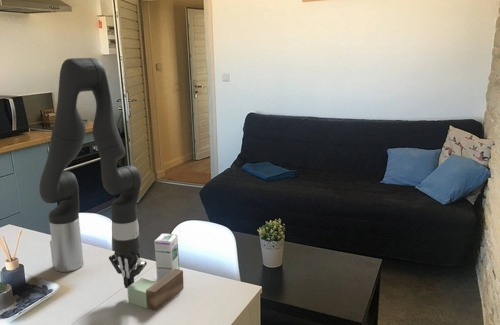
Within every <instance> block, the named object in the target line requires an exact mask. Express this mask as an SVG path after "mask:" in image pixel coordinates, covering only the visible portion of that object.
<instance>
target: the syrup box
mask: <svg viewBox="0 0 500 325" xmlns="http://www.w3.org/2000/svg"><path fill="white" fill-rule="evenodd" d="M178 241H179V240H178V234H174V233H160V235H159V236H158V237H157V238H156V239H155V240H154V241H153V242H154V253H155V255H154V256H155V268H156V269H155V270H156V282H157V281H159V280H160V279H161V278H163V277H164V276H166V275H167V274H168V273H170V272H171V271H172V270H174V269H179V270H181V268H180V255H179V242H178Z"/></svg>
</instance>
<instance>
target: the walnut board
mask: <svg viewBox="0 0 500 325" xmlns="http://www.w3.org/2000/svg"><path fill="white" fill-rule="evenodd" d="M179 269H180V268H179ZM179 269H174V270H172V271H171V272H170V273H168V274H167V275H166V276H164V277H163V278H161V279H160V280H159V281H157V280H156V281H155V282H156V283H155V284H153V285H152V286H151V287H149V288H148V289H147V290H146V296H147V308H146V309H147V310H151V311H153V312H156V311H158V310H159V309H160V308H162V307H163V306H164V305H165V304H166V303H168V301H170V300H171V299H172V298H173V297H175V296H176V295H177V294H178V293H180V291H182V290H183V289H184V288H185V286H184V270H183V269H180V270H179Z"/></svg>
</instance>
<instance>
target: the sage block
mask: <svg viewBox="0 0 500 325" xmlns="http://www.w3.org/2000/svg"><path fill="white" fill-rule="evenodd" d="M156 282H157V281H153V280H150V279H147V278H143V277H140V278H139V279H137V280H136V281H134V283H133V284H131V285H130V286H128V287H127V288H128V289H127V288H126V289H127V297H128V298H127V300H128V303H130V304H133V305H136V306H138V307H139V306H140V307H142V308H144V309H145V308H146V309H147V296H146V290H147V289H148V288H149V287H151V286H152V285H153V284H155V283H156Z"/></svg>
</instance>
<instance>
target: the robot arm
mask: <svg viewBox="0 0 500 325" xmlns="http://www.w3.org/2000/svg"><path fill="white" fill-rule="evenodd" d="M59 71H60V72H59V77H58V79H59V80H58V92H57V104H56V108H55V109H56V110H55V116H54V121H53V126H52V128H51V129H52V130H51V135H50V141H49V142H50V143H49V149H48V152H47V158H46V160H45V165H44V167H43V171H42V173H41V177H40V181H39V187H38V188H39V195H40V199H41V200H42V201H43V202H45V203H47V204H56V203H59V204H58V205H57V206H56V207H55V208H54V209H52V210H50V212H49V214H48V222H49V231H50V238H51V240H50V241H49V244H50V245H49V246H50V253H51V261H52V262H51V263H52V267H53V268H54V269H55V270H56V272H61V273H67V272H73V271H76V270H78V269H81V267H83V266H84V255H83V245H82V243H83V242H82V236H81V235H82V234H81V223H80V216H79V215H80V214H79V213H80V195H79V194H80V193H79V192H80V190H79V189H80V188H79V183H78V180H77V177H76V175H75V174H74V173H73V172H71V171H65V170H66V168H67V167H68V165H70V164H71V163H72V161H73V160H74V159H75V158H76V157H77V156H78V155H79V153H80V152H81V150H82V148H83V145H84V140H85V137H86V133H87V132H86V131H87V129H86V128H87V127H86V124H85V122H84V119H83V118H82V116H81V114H80V113H79V111H78V106H77V103H78V97H79V94H80V93H81V92H92V94H93V96H94V100H95V104H96V106H95V108H96V109H95V115H94V121H93V125H92V136H93V140H94V143H95V146H96V149H97V151H98V155H99V159H100V171H101V172H100V173H101V183H102V186H103V189H105V191H106V192H107V193H108V194H110V195H112V196H115V195H120V196H119V197H118V198H116V199H115V200H113V201H112V203H111V205H110V210H111V213H110V214H111V236H112V238H111V239H112V247H113V248H112V250H113V251H114V253H113V254H112V255H110V256H108V261H110V263H111V264H112V266H113V267H114V269H115V271H116V273H117V274H118V275H121V276H122V278H123V285H124V288H125V289H127V290H128V288H127V287H128V286H130V285H131V284H133V283H134V282H135V278H136V276H138V275H140V273H141V272H142V271H143V270H144V268H145V267H146V266H147V264H148V263H147V261H145V260H144V261H143V260H142V259H141V254H140V252H139V250H140V246H141V244H140V243H141V242H140V227H139V226H140V225H139V221H138V211H137V210H138V209H137V205H138V201H139V195H140V192H141V191H140V190H141V186H142V177H141V176H142V175H141V173H140V170H139V169H138V168H137V167H136V166H134V165H125V166H121V167H120V166H119V167H118V165H117V164H118V160H121V159H122V158H124V157H125V155H126V149H125V146H124V145H125V144H124V143H123V140H122V138H121V135H120V132H119V129H118V126H117V122H116V118H115V113H114V106H113V101H112V96H111V90H110V84H109V80H108V76H107V72H106V69H105V67H104V65H103V63H102V62H101V60H99V59H98V58H95V57H76V58H74V57H72V58H71V57H70V58H67V59H64V61H63V62H62V64H61V67H60V70H59Z"/></svg>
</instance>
